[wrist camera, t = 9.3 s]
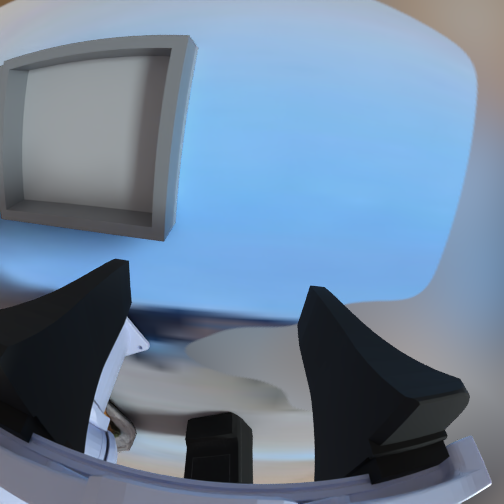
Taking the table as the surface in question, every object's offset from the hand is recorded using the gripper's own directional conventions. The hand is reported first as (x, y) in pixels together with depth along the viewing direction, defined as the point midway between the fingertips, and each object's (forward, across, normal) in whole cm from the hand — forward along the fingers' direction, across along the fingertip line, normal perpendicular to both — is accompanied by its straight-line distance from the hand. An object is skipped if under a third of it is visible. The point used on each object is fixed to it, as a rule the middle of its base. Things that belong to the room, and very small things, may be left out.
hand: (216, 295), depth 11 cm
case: (+9, +11, -5) cm, 15 cm away
